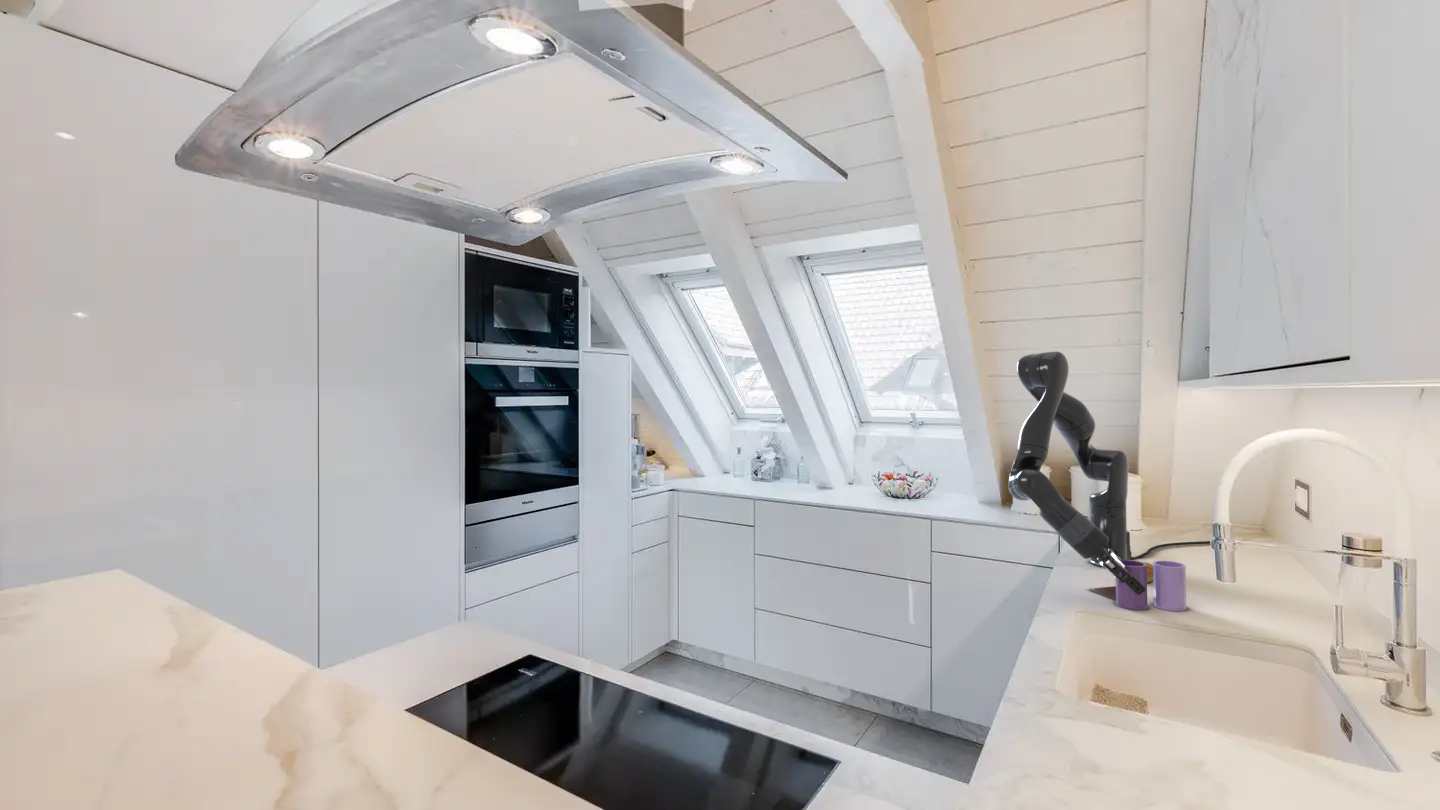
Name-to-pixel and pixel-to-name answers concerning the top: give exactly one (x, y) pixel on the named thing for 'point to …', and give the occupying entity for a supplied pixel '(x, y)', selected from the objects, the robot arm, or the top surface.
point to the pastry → (1149, 572)
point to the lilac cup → (1169, 585)
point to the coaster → (1106, 591)
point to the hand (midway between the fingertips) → (1139, 587)
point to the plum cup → (1125, 593)
